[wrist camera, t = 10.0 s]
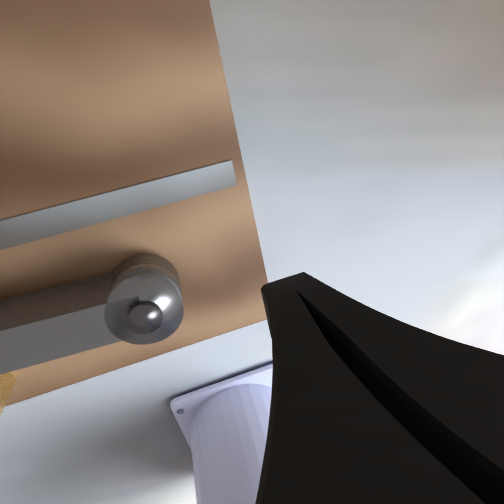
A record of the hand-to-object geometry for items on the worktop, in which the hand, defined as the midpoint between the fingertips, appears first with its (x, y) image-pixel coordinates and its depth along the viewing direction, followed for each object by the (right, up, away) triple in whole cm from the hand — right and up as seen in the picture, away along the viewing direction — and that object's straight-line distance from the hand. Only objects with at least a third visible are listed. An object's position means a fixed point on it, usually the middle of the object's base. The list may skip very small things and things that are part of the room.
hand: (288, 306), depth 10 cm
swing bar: (-12, -1, +6) cm, 14 cm away
